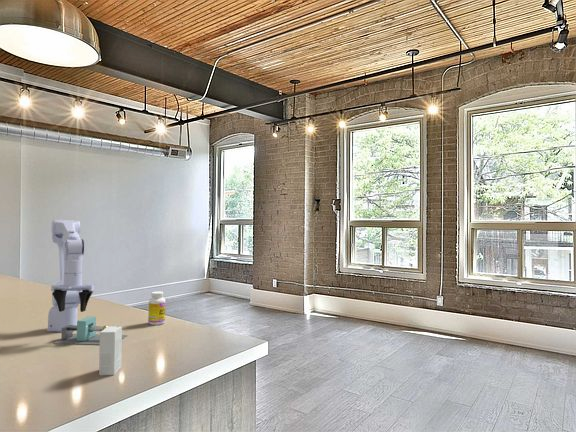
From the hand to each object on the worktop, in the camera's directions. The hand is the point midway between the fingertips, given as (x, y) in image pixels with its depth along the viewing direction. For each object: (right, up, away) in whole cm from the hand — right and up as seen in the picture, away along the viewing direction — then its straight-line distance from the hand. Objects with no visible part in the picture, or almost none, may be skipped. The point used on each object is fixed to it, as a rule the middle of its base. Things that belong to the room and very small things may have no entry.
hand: (72, 311), depth 139 cm
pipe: (+7, -10, 0) cm, 12 cm away
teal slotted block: (+5, -10, 0) cm, 11 cm away
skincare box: (+27, -10, -29) cm, 41 cm away
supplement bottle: (+22, -11, +23) cm, 34 cm away
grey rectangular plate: (+7, -10, 0) cm, 12 cm away
